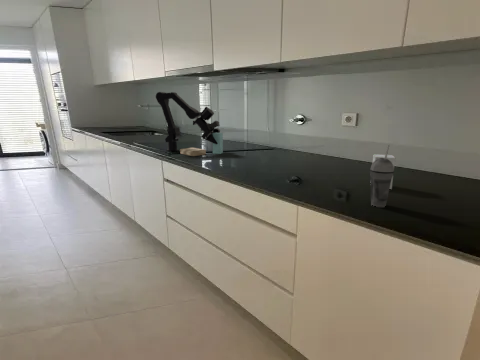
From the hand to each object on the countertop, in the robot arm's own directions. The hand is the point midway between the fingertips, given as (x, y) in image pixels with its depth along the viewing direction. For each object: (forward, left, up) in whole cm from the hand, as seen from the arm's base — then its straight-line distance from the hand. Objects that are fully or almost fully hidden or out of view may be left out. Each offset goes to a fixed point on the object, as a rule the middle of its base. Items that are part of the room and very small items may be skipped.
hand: (219, 143), depth 214 cm
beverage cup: (+120, -33, -7) cm, 124 cm away
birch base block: (-9, -15, -7) cm, 19 cm away
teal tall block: (-1, -1, -7) cm, 7 cm away
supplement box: (+110, -9, -7) cm, 110 cm away
